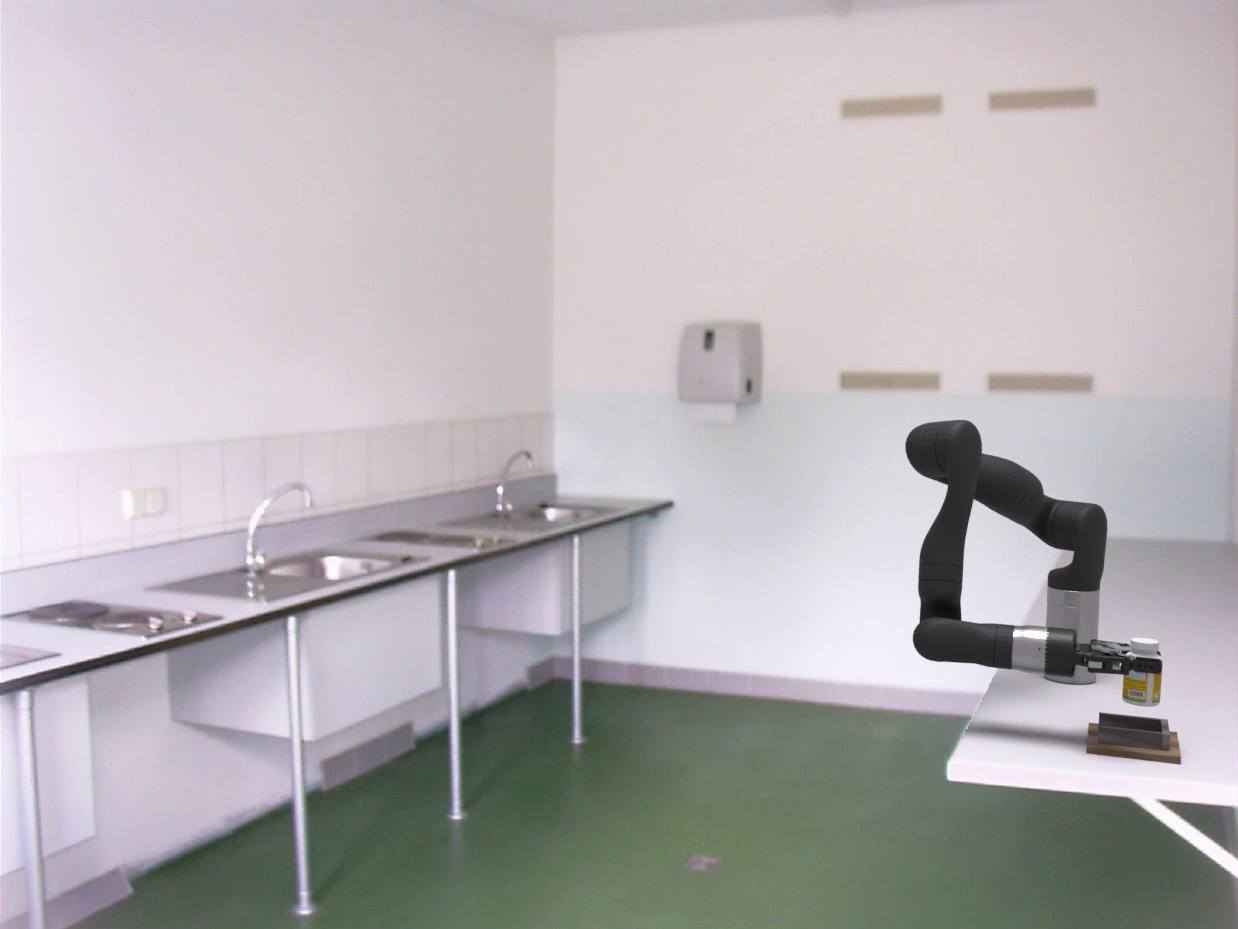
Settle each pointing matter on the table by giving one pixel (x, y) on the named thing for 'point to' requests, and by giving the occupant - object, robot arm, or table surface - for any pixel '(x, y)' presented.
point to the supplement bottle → (1143, 676)
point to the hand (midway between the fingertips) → (1160, 662)
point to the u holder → (1133, 738)
